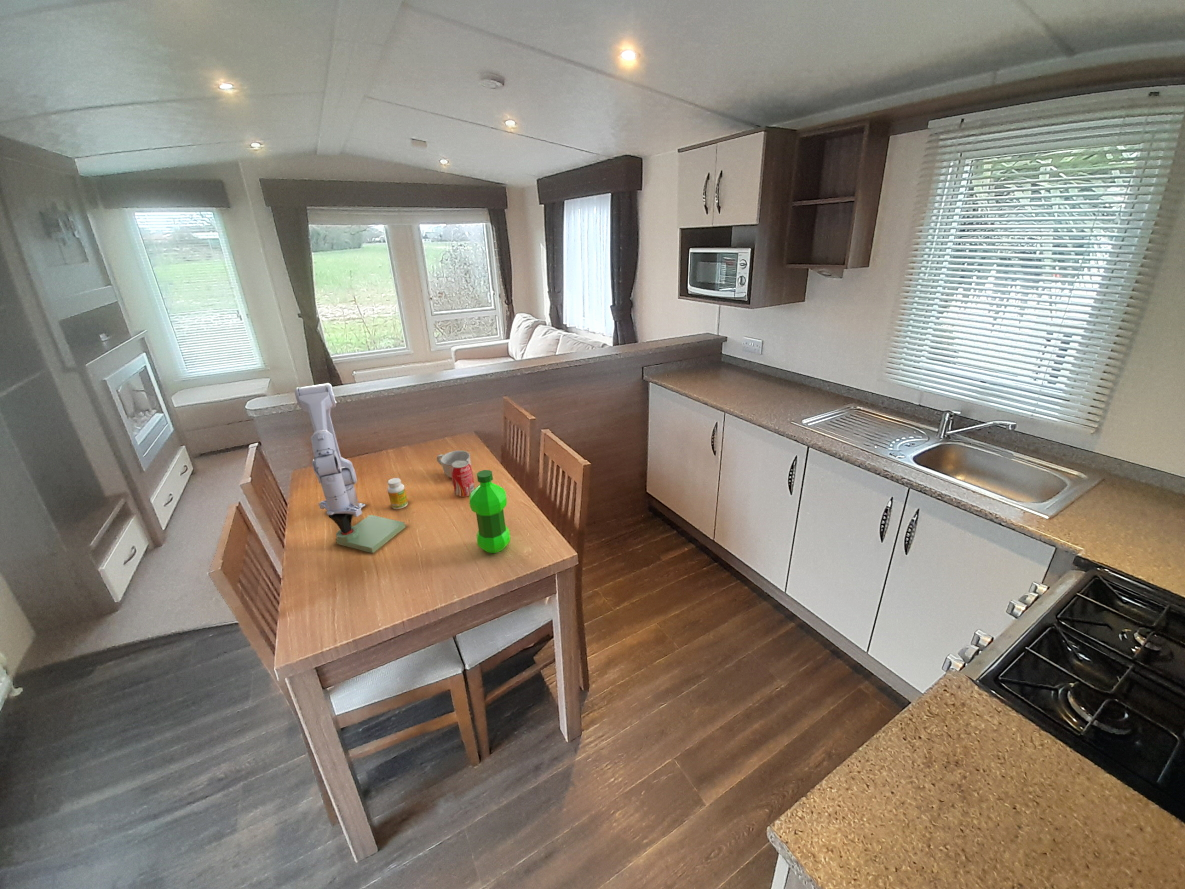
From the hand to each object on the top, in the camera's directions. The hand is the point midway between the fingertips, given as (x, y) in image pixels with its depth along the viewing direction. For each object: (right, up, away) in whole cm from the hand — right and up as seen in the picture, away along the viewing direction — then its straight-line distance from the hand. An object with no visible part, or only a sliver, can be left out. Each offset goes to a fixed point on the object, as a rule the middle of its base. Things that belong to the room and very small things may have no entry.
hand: (347, 531), depth 144 cm
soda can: (+29, +9, +26) cm, 40 cm away
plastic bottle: (+46, -4, -4) cm, 46 cm away
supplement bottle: (+8, +5, +20) cm, 22 cm away
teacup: (+22, +15, +39) cm, 47 cm away
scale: (+6, -2, +4) cm, 7 cm away
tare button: (0, -1, +1) cm, 1 cm away
